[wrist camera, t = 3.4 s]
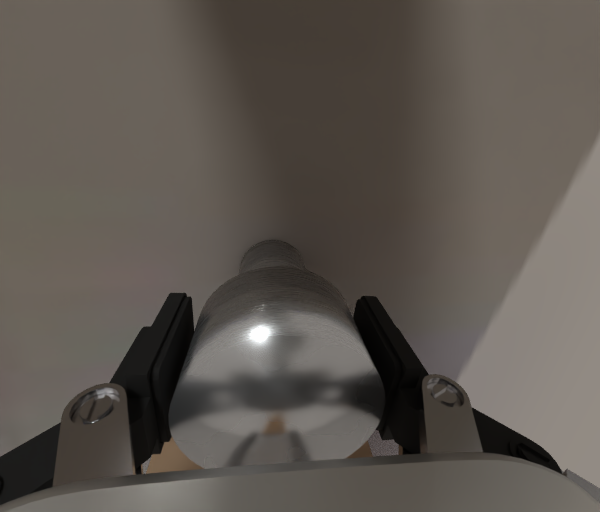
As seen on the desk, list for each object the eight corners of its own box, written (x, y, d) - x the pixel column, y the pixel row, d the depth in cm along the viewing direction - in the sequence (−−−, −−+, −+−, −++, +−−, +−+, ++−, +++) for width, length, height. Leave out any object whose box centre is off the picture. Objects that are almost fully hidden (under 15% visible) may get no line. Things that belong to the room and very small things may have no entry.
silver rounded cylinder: (216, 215, 14) (155, 336, 6) (331, 222, 15) (408, 335, 7) (219, 312, 17) (178, 488, 9) (317, 313, 18) (363, 473, 10)
